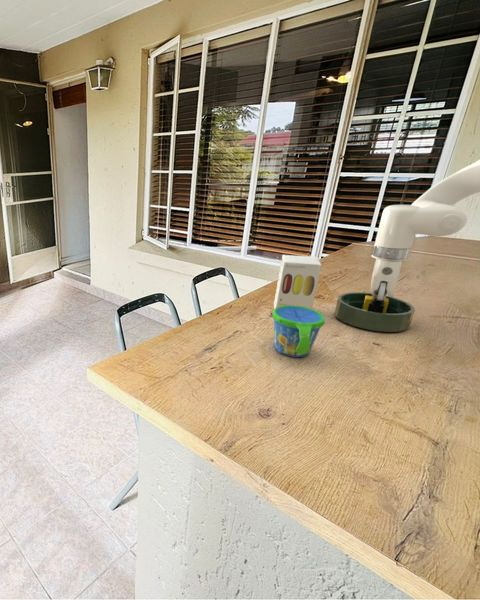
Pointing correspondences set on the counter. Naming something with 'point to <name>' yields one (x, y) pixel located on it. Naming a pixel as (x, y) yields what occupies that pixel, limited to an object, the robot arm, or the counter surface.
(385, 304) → the sponge
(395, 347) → the counter surface
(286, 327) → the snack cup
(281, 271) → the supplement box
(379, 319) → the basin
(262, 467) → the counter surface
